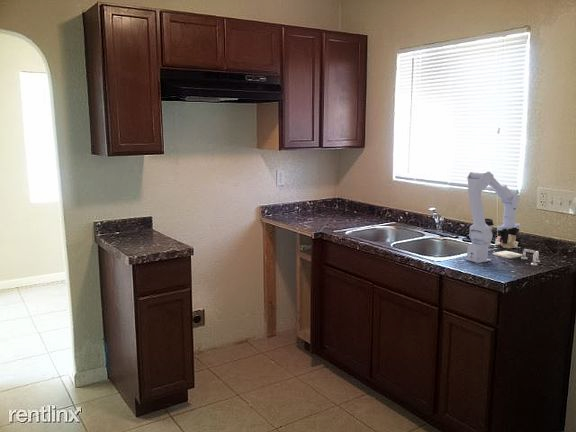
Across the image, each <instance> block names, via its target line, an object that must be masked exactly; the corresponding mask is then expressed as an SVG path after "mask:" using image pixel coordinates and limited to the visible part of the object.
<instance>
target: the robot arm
mask: <svg viewBox="0 0 576 432" xmlns="http://www.w3.org/2000/svg"><path fill="white" fill-rule="evenodd" d="M466 179H467V185H468V187H467V188H468V189H467V191H468V192H467V193H468V198H469V204H470V205H469V206H470V211H471V218H472V225H470V226H469V233H468V234H469V235H468V236H469V238H470V241H471V243H470V244H468V246H467V249H466V250H467V251H466V253H467V254H466V258H465V260H467V261H470V262H474V263H477V264H479V263H486V262H491V261H492V259H490V258H488V256H489V255H488V253H489V247H488V243H490V241H492V240H493V231H492V232H491V230H490V227H489V226H488V225H487V224H486V223H485V219H486V218H485V212H484V205H483V204H484V203H483V197H482V192H483V191H484V190H485V189H487V187H488V186H489V187H491V188H492V189H493V190H494V193H495V194H496V195H497V196H498V197H499V198H500V200H501V202H502V203H503V220H502V224H501V225H497V229H496V230H497V231H498V233H499V234H500V237H501V243H502V242H503V243H504V244H507V241H508V235H509V234H510V235H515V236H516V237H517V235H518V233H519V232H520V228H521V223H516V221H517V219H516V218H517V217H516V216H517V208H518V207H519V203H520V196H519V195H518V193H515V192H513V191H512V190H511V189H510V188H509V187H508V185H506V184H501V183H500V182H498V180H497V179H496V178H495V177H494V174H493V173H492V172H491V171H489V170H488V171H483V170H482V171H481V170H475V169H473V170H471V171H470V172H469V174H467V178H466ZM490 244H491V243H490Z"/></svg>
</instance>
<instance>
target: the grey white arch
mask: <svg viewBox="0 0 576 432" xmlns="http://www.w3.org/2000/svg"><path fill="white" fill-rule="evenodd" d="M527 253H532V254H533V256H532V262H530V266H538V263H541V260H539V256H540V255H539V250H533V249H527V248H523V250H522V254H523V255H522V256H520V259H521V260H528V257H527V256H526V254H527Z"/></svg>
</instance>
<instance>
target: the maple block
mask: <svg viewBox="0 0 576 432" xmlns="http://www.w3.org/2000/svg"><path fill="white" fill-rule="evenodd" d="M516 239H517V235H516V236H515V235H510V234H509V235H508V241H507V244H504V243H503V242H502V241H501V247H502V248H506V249H513V248H516Z"/></svg>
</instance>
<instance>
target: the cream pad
mask: <svg viewBox="0 0 576 432" xmlns="http://www.w3.org/2000/svg"><path fill="white" fill-rule="evenodd" d="M492 255H493V256H497V257H501V258H506V259H514V258H521V257H523V253H517V252H513V251H508V250H502V251H501V250H500V251H496V252H492Z"/></svg>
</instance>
